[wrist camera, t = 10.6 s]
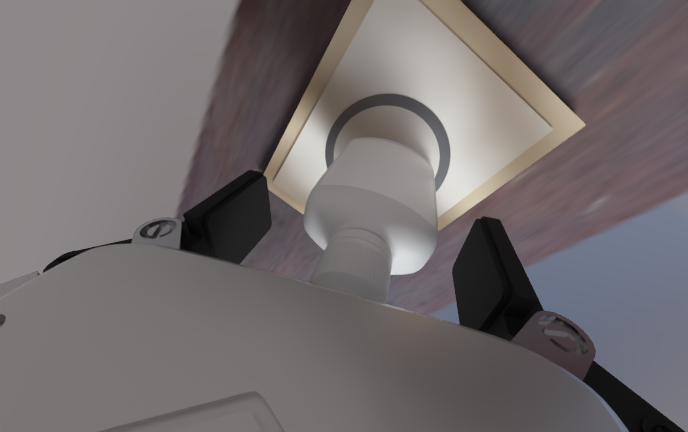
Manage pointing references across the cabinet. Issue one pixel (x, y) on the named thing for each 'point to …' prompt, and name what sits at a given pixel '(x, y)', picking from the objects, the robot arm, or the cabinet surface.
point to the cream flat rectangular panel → (422, 103)
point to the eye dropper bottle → (372, 217)
